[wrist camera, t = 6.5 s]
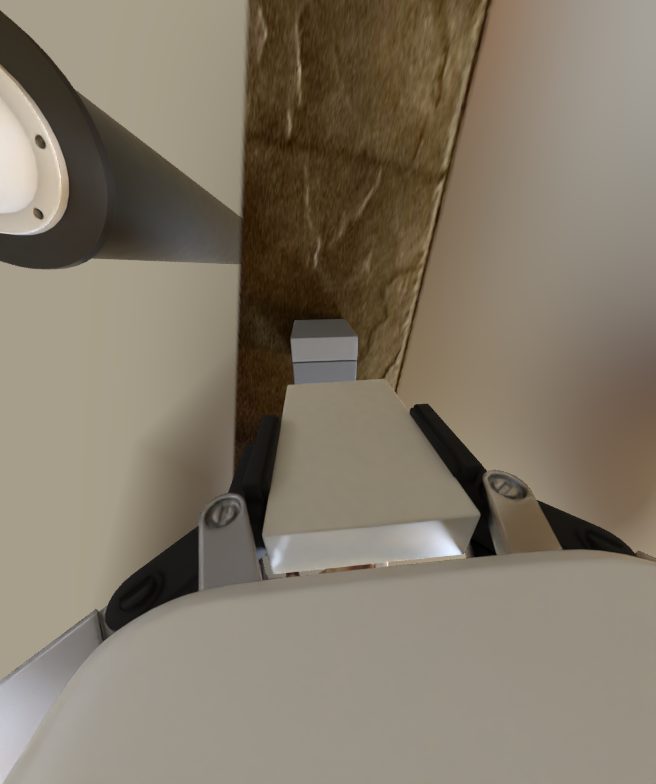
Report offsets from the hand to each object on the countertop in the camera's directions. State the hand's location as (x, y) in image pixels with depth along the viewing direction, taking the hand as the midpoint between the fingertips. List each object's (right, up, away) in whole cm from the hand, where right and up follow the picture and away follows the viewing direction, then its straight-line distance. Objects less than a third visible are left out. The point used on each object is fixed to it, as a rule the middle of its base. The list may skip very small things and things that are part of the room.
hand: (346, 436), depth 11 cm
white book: (0, +2, +4) cm, 4 cm away
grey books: (-2, +9, +18) cm, 20 cm away
